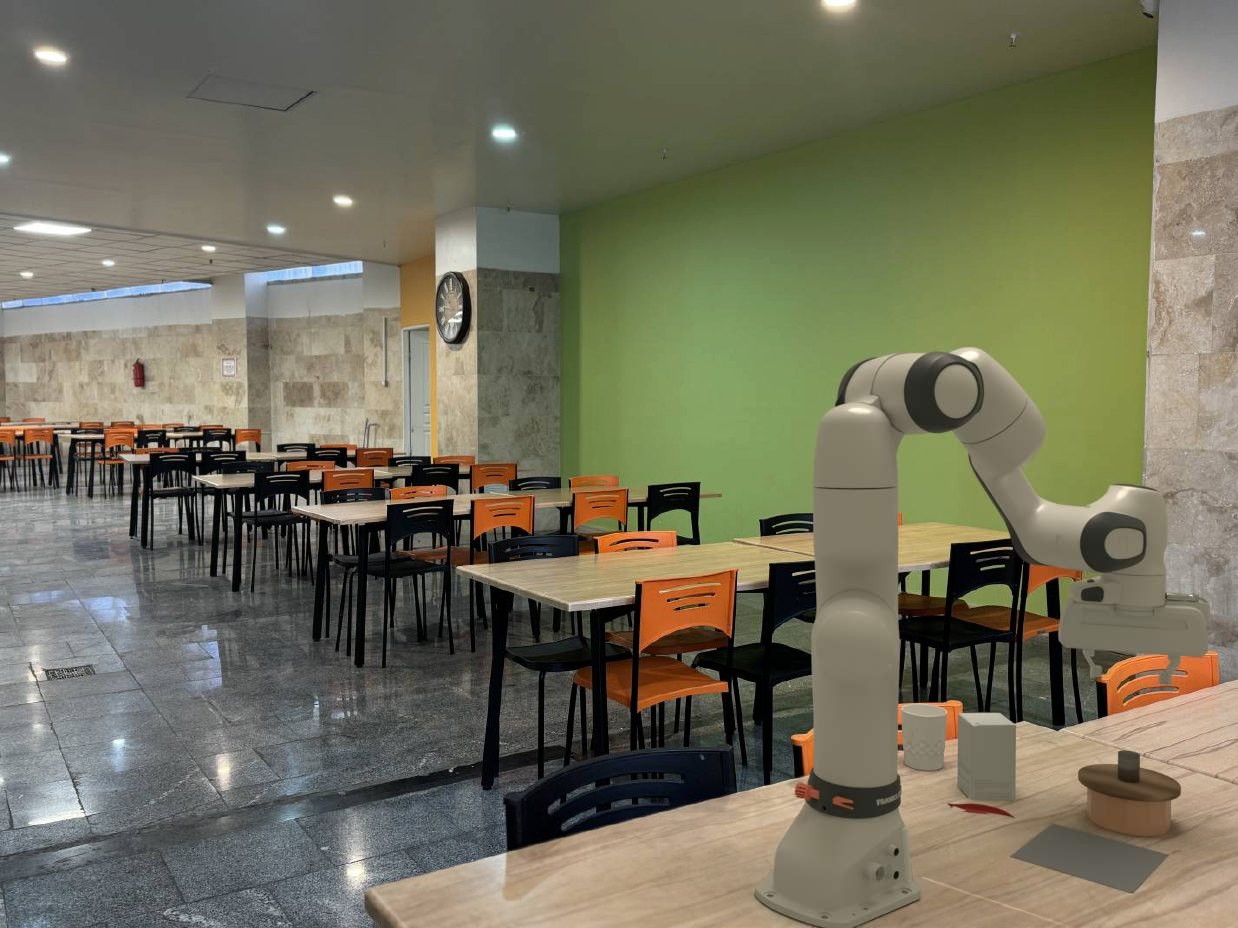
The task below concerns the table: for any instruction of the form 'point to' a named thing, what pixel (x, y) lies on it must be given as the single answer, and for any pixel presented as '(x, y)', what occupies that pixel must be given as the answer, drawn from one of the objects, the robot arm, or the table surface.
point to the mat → (1091, 857)
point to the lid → (1129, 780)
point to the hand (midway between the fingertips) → (1129, 680)
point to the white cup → (924, 736)
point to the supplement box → (986, 756)
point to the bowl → (1129, 814)
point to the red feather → (980, 809)
